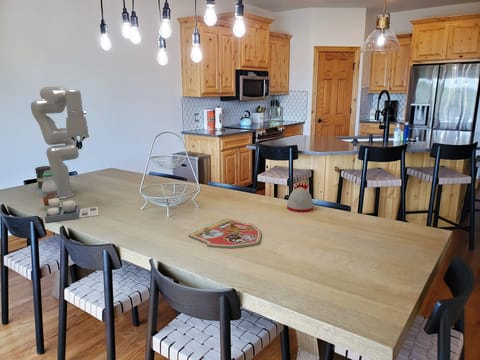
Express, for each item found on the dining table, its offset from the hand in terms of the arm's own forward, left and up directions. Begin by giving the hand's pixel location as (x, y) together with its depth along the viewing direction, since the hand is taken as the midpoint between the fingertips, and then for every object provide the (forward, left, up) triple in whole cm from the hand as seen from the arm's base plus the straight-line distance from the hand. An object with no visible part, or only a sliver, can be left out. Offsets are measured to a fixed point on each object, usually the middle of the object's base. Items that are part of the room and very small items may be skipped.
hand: (79, 149), depth 189 cm
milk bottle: (-7, -18, -33) cm, 38 cm away
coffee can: (-58, -26, -33) cm, 72 cm away
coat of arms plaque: (+69, +60, -34) cm, 98 cm away
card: (+10, +1, -33) cm, 34 cm away
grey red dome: (+49, +107, -33) cm, 122 cm away
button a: (+6, -15, -30) cm, 34 cm away
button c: (+13, -15, -33) cm, 38 cm away
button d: (+13, -8, -30) cm, 33 cm away
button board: (+10, -11, -33) cm, 36 cm away
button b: (+6, -8, -32) cm, 34 cm away
